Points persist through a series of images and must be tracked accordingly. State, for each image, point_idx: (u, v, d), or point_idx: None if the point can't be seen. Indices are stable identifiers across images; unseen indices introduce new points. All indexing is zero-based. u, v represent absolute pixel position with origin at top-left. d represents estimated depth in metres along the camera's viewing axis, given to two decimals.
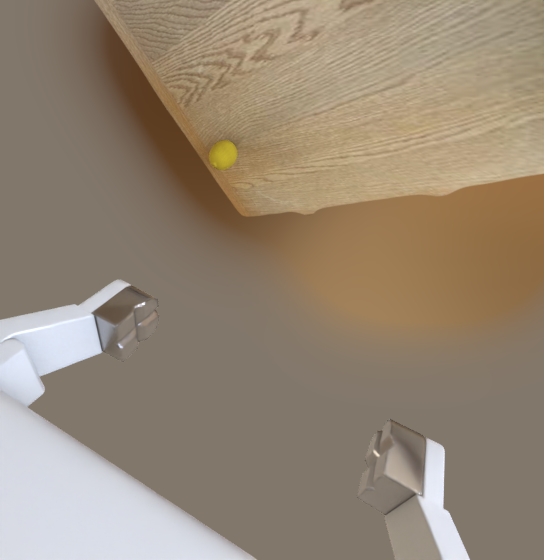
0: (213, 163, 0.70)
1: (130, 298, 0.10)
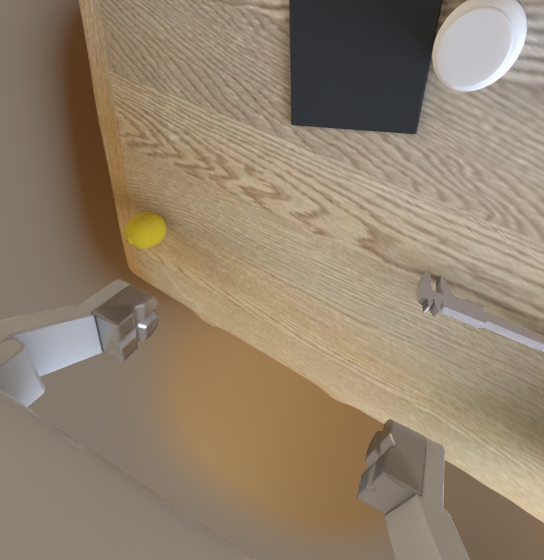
0: (128, 239, 0.52)
1: (130, 298, 0.10)
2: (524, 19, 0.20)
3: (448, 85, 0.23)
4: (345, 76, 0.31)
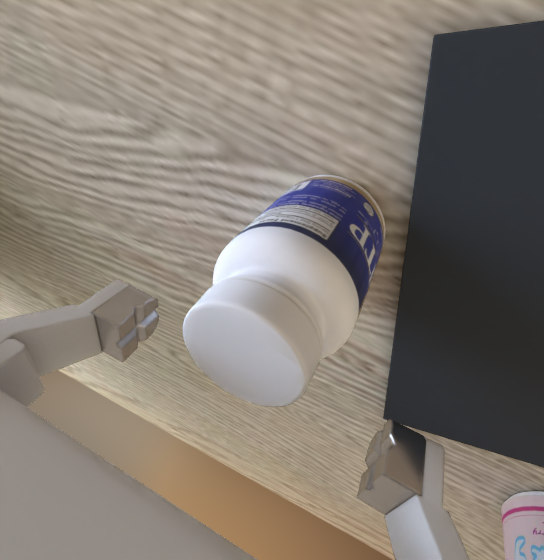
0: None
1: (130, 298, 0.10)
2: None
3: (301, 253, 0.10)
4: None
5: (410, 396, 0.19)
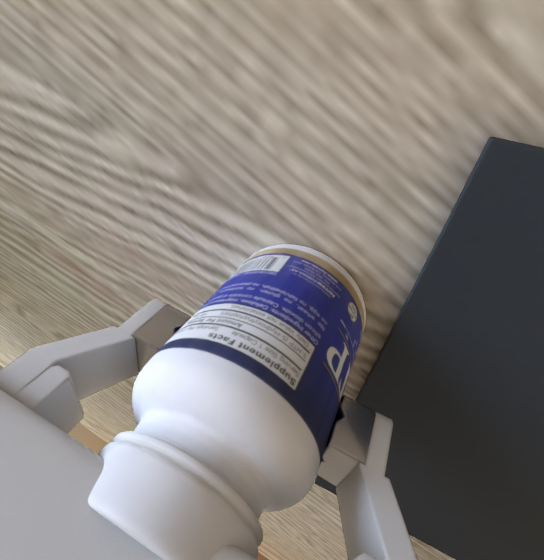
0: None
1: (169, 319, 0.10)
2: None
3: (256, 420, 0.07)
4: None
5: None
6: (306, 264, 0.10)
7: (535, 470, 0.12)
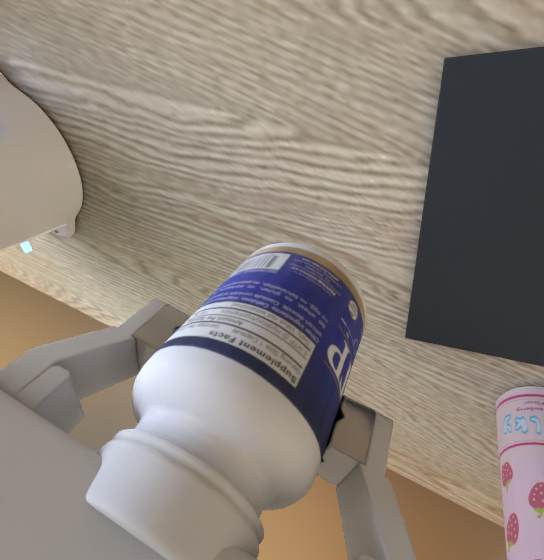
0: None
1: (169, 319, 0.10)
2: None
3: (257, 418, 0.07)
4: None
5: (426, 314, 0.26)
6: (306, 262, 0.10)
7: (536, 244, 0.20)
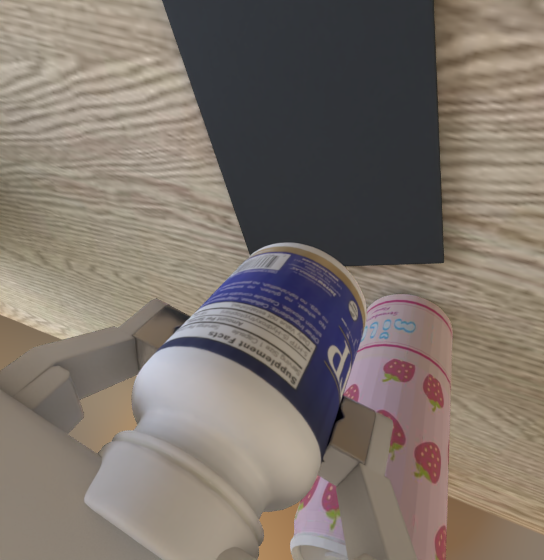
0: None
1: (169, 319, 0.10)
2: None
3: (257, 419, 0.07)
4: None
5: (257, 233, 0.24)
6: (307, 262, 0.10)
7: (303, 109, 0.18)
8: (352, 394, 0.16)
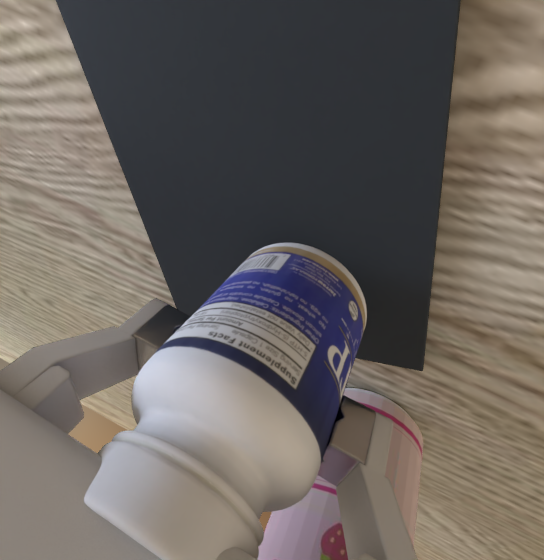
0: None
1: (169, 319, 0.10)
2: None
3: (257, 419, 0.07)
4: None
5: (184, 285, 0.18)
6: (307, 262, 0.10)
7: (242, 138, 0.12)
8: None
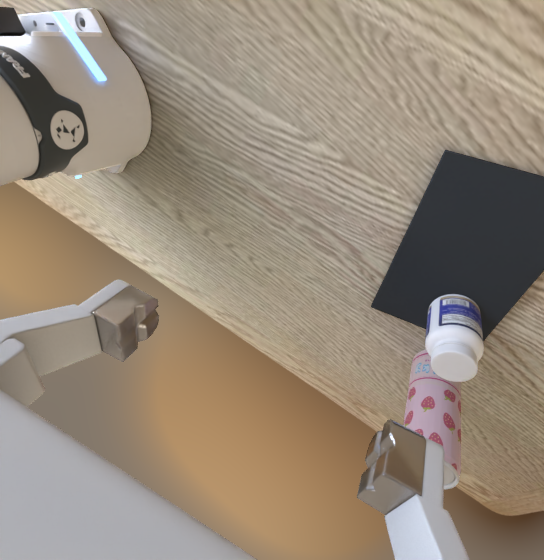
0: None
1: (130, 298, 0.10)
2: (426, 342, 0.35)
3: (480, 344, 0.32)
4: (499, 221, 0.31)
5: (389, 294, 0.41)
6: (473, 306, 0.36)
7: (462, 265, 0.35)
8: (430, 401, 0.36)
